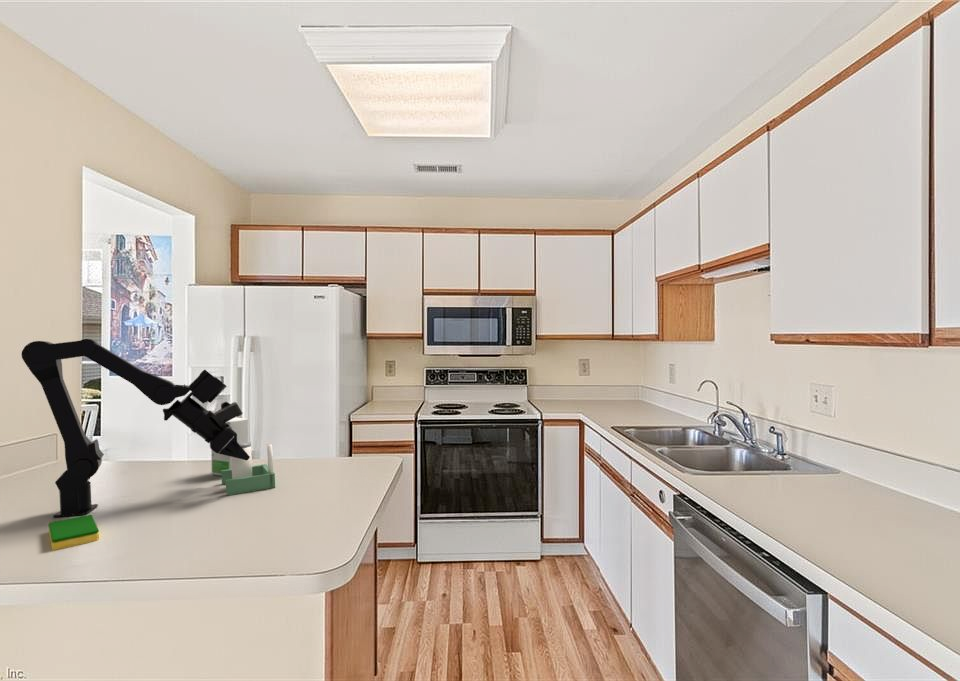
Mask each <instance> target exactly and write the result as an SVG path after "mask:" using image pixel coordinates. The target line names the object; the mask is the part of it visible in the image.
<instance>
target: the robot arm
mask: <svg viewBox="0 0 960 681" xmlns="http://www.w3.org/2000/svg"><path fill="white" fill-rule="evenodd" d="M80 357H85V358H88V359H89V360H91V361H93V362H94V363H96V364H98V365H99V366H101V367H102V368H105V369H106V370H108V371H110V372H111V373H114V375H117V376H119V377H120V378H122V379H124V380H125V381H126V382H129V383H130V384H132V385H133V386H134V387H136V388H137V389H138V390H139V391H140V392H141V393H143V395H144V396H145V397H147V398H148V399H149V400H151V402H153V403H154V404H156V405H159V406H166V405H169V404H171V403H172V404H171V406H169V407H168V408H163V409H162V412H163V415H164V416H163V420H164V421H168V420H169V419H170V418H171V417H172V416H173V417H175V418H176V419H177V420H178V421H179V422H181V423H182V424H184V426H186V427H188V428H189V429H190V431H192V432H193V433H195V434H197V435H198V436H199V437H201V438H202V439H203V440H204V442H206V443H208V444H209V448H210V449H212V450H213V451H214V452H216V453H218V454H222V455H227V456H231V457H235V458H239V459H243V460H248V459H249V458H250V456H249V455H248V454H247V453H246V452H245V451H244V449H243V448H242V447H241V446H240V445H239V444H238V442H237V433H236V432H235V431H234V430H232V428H231V427H229V426H230V425H229V424H227V423H226V422H227V421H229V420H231V419H233V418H239V417H240V416H242V415H243V413H244V412H243V411H242V410H241V408H240V406H239V405H238V402H236V401H233V402H232V403H229V401H224V402H222V403H220V409H218V410H216V411H215V412H213V411H211V410H207V409H206V408H205V407H204V406H203V405H202V404H205V403H209V404H211V403H212V402H213V401H214V400H215V399H216V398H217V397H218V396H219V395H220V394H221V393H222V392H223V391H224V390H225V389H226V388H227V387H228V386H227V385H226V384H225V383H224V382H223V381H221V380H220V379H219V378H218V377H216V376H214V375H213V374H211V373H210V372H209V371H207V370H206V369H203V370H201V372H200V373H199V375H198V376H197V377H196V378H195V379H194V380H193V381H192V382H191V383H190V384H189V385H188V384H187V385H186V384H183V385H181V384H175V383H174V382H173V381H170V380H169V379H166V378H163V377H161V376H158V375H155V374H153V373H149V372H148V371H145V370H143V369H142V368H139V367H138V366H136V365H134V364H132V363H131V362H129V361H128V360H126V359H124V358H123V357H121V356H119V355H117V354H116V353H115V352H113V351H110V350H109V349H108V348H105V347H104V346H102V345H101V344H99V342H97V341H96V340H94V339H92V338H84V339H81V340H75V341H73V340H72V341H65V342H58V343H57V342H56V343H54V342H53V343H52V342H50V341H47V340H46V341H43V340H35V341H32V342H29V343H28V344H26V345H25V346H24V347H23V349H22V350H21V358H22V361H23V362H24V363H25V365H26V367H27V368H28V369H29V371H30V373H31V374H32V375H33V376H34V378H35V379H37V381H38V382H39V383H40V385H41V387H42V389H43V393H44V395H45V398H46V401H47V402H48V405H49V408H50V411H51V412H52V415H53V418H54V420H55V423H56V425H57V428H58V431H59V433H60V435H61V438H62V440H63V444H64V458H65V464H66V465H65V466H66V470H65V471H63V473H62V474H61V475H60V476H59V477H58V478H57V479H56V480H55V483H54V484H55V485H56V487H57V489H58V491H59V492H58V493H59V508H60V509H59V511H58V512H56V513H54V514H53V516H52V517H53V518H62V517H63V518H64V517H70V516H81V515H82V516H83V515H88V513H90V512H92V511H93V510H95V509H96V508H97V507H99V504H98V503H95V504H92V486H91V481H90V479H91V478H92V477H93V476H94V475H96V473H97V472H98V470H99V468H100V467H101V465H102V462H103V460H102V458H103V456H104V455H105V453H103V452H102V451H101V448H100V444H99V441H98V440H99V439H94V440H92V441H91V440H90V439H89V437H88V436H87V435H86V434H85V431H84V429H83V426H82V423H81V421H80V418H79V416H78V413H77V410H76V408H75V405H74V402H73V400H72V398H71V395H70V393H69V390H68V388H67V385H66V383H65V380H64V376H63V362H62V360H68V359H72V358H74V359H75V358H80ZM188 393H189V394H188ZM192 396H193V397H195V399H197V400H198V401H199V402H201V403H202V404H200V403H198V402H197V401H196V400H195V399H194V398H192ZM181 397H184V398H183V399H182V400H181V401H180V400H179V399H177V398H181ZM175 399H176V401H175ZM173 401H174V402H173Z"/></svg>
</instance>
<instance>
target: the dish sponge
mask: <svg viewBox="0 0 960 681" xmlns="http://www.w3.org/2000/svg"><path fill="white" fill-rule="evenodd" d="M99 530H100V529H99V528H98V526H97V524H96V521H95V519H94V516H93V515H92V514H84V515H82V516H81V515H79V516H76V517H72V518H71V517H70V518H66V519H60V520H54V521H50V522H49V523H48V533H49V539H50V540H49V541H50V545H51V550H52V551H56V550H61V549H65V548H71V547H74V546H80V545H83V544H84V545H85V544H88V543H93V542H97V541H99V540H100V533H99V532H100V531H99Z"/></svg>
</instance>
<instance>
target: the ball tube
mask: <svg viewBox="0 0 960 681" xmlns="http://www.w3.org/2000/svg"><path fill="white" fill-rule="evenodd" d="M238 444H239V445H240V446H241V447H242V448H243V449H244V451H245V452H246V453H247V454H248V455H249V456H250V458H249V459H248V460H243V459H239V458H235V457H231V464H232V479H235V478H242V477H249V476H252V466H253V459H252V442H251V441H248V442H239V443H238Z"/></svg>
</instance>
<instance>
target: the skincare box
mask: <svg viewBox="0 0 960 681" xmlns="http://www.w3.org/2000/svg"><path fill="white" fill-rule="evenodd" d="M226 423H227V424H229V425H230V426H229V427H231V428H232V430H234V431H235V432H236V433H237V442H238V443H239V442H249V418H243V417H242V418H241V417H235V418H233V419H231V420H229V421H227V422H226ZM210 449H211V448H210ZM210 456H211V475H215V476H221V470H228V469H232V464H231V456H227V455H222V454H218V453H216V452H214V451H213V450H212V449H211V455H210Z"/></svg>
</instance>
